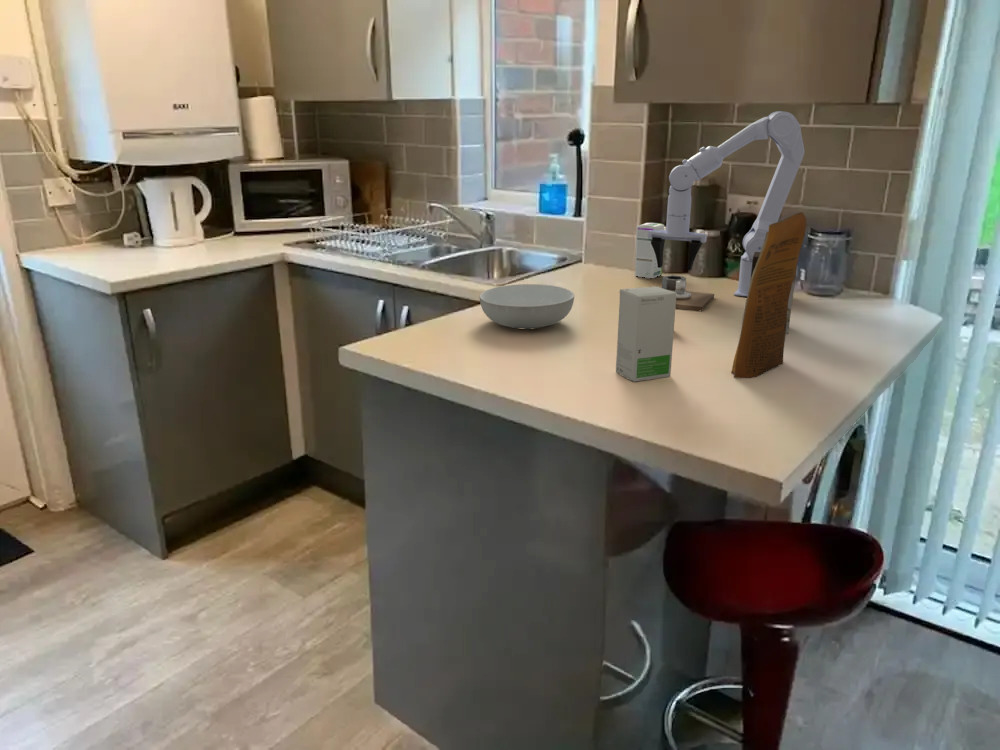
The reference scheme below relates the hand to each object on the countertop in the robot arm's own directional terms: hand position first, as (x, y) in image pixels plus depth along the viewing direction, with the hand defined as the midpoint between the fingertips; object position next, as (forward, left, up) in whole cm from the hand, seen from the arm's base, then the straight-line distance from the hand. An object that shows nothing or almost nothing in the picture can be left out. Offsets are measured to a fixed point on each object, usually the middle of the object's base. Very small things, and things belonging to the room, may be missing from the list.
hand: (674, 268), depth 201 cm
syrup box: (+11, -15, -6) cm, 20 cm away
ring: (0, 0, -6) cm, 6 cm away
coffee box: (-27, +26, -6) cm, 38 cm away
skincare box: (-11, +66, -6) cm, 67 cm away
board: (-4, +10, -6) cm, 12 cm away
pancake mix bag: (-30, +54, -6) cm, 62 cm away
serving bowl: (+22, +44, -6) cm, 50 cm away
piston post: (-4, +10, -6) cm, 12 cm away
